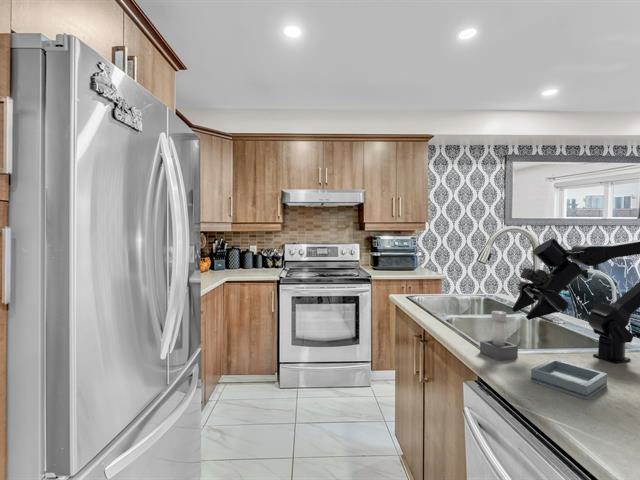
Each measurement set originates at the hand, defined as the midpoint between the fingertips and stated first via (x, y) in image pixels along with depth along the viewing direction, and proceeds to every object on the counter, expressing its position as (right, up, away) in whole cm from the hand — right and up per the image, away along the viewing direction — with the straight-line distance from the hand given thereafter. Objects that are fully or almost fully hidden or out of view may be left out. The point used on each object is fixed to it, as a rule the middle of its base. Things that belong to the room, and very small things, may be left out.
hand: (519, 314), depth 108 cm
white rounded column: (-6, -12, +1) cm, 14 cm away
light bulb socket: (-6, -12, +1) cm, 14 cm away
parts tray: (+2, -13, -19) cm, 23 cm away
